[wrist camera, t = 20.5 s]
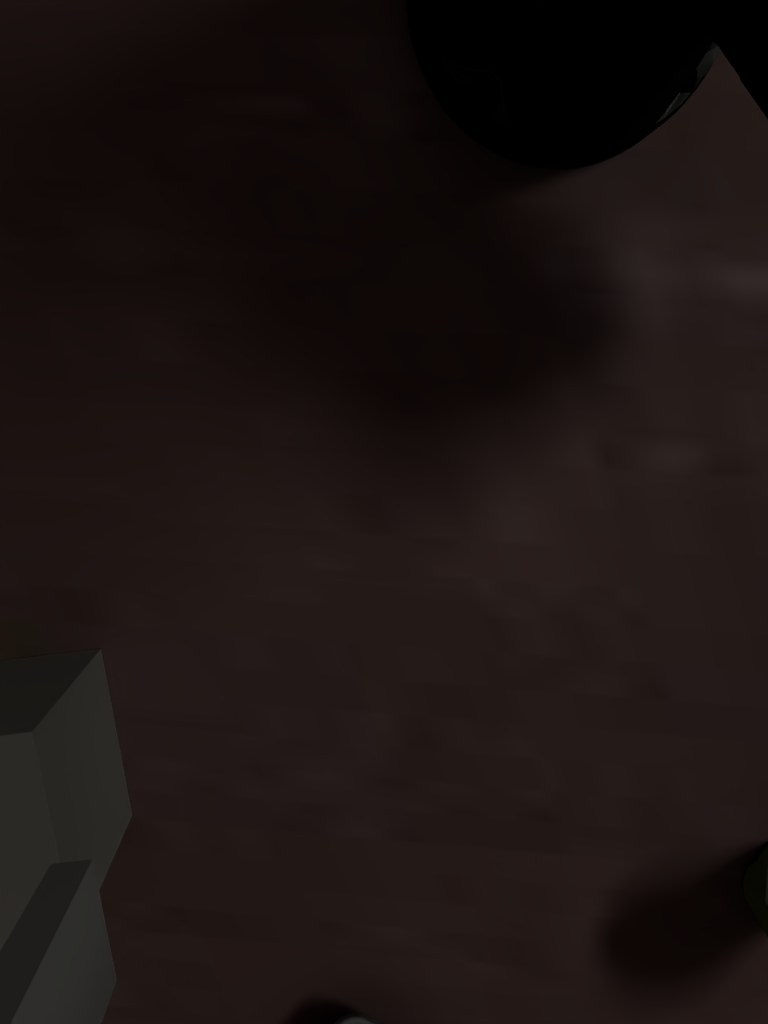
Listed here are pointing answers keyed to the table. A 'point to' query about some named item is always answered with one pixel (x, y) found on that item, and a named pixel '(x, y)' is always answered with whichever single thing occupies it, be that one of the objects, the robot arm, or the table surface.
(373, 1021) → the salad plate
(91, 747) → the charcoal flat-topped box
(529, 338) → the table surface
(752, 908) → the plant pot
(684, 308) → the table surface
